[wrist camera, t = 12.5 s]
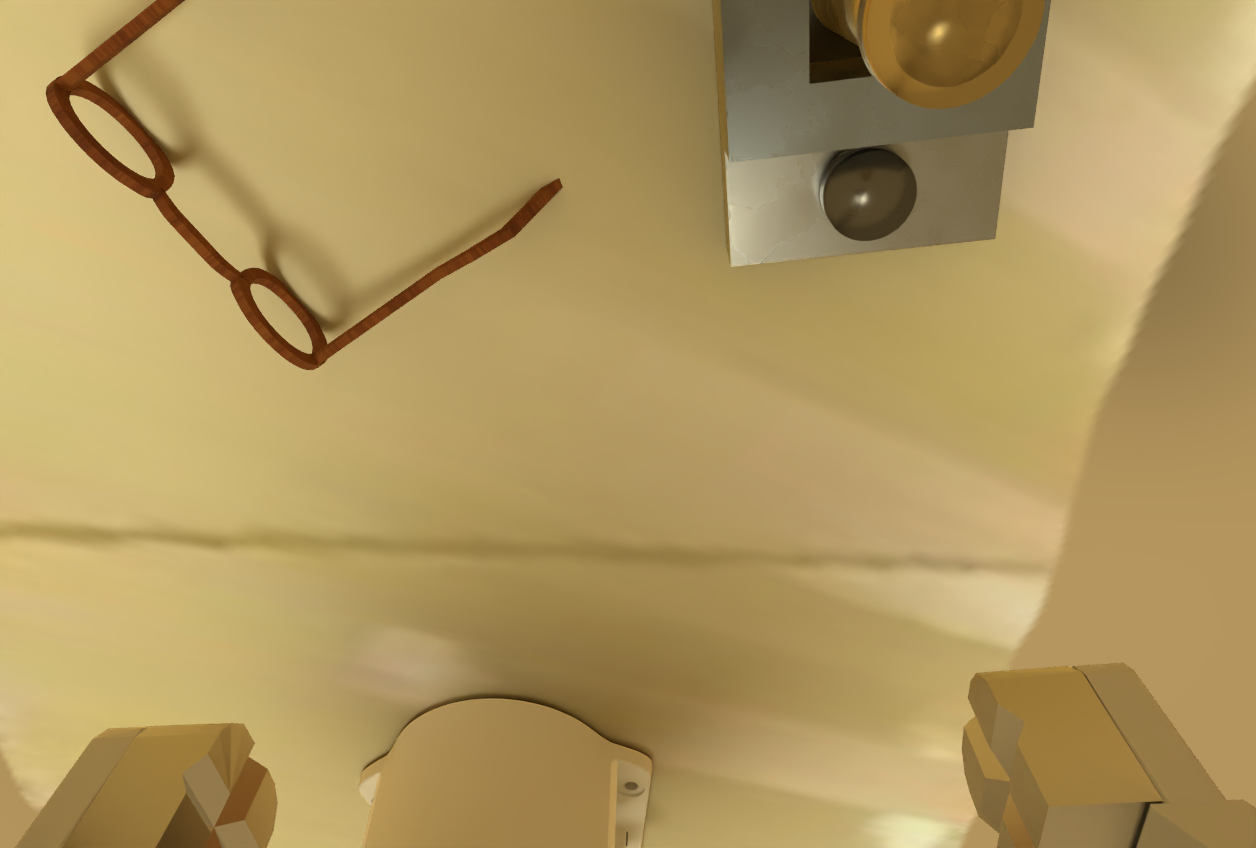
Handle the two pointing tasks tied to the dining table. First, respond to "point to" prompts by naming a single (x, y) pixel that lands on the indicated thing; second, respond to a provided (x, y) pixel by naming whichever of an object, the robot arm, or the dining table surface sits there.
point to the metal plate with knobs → (849, 146)
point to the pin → (937, 43)
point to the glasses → (157, 189)
